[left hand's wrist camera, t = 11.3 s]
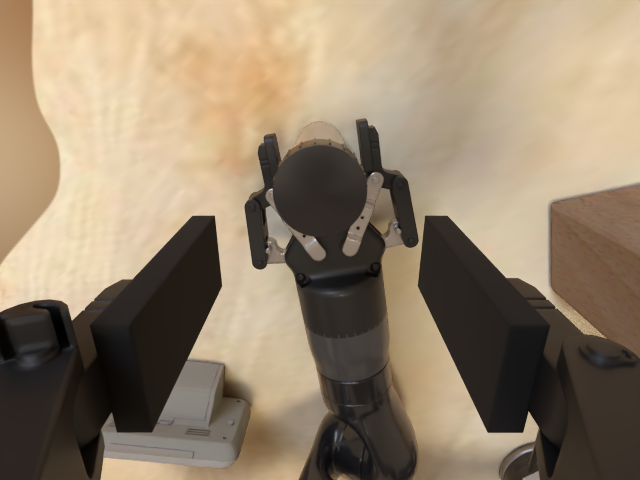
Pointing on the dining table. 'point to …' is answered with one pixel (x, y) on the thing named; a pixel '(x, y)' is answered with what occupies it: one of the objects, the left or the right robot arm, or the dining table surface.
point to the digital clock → (188, 424)
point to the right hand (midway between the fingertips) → (314, 128)
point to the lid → (320, 188)
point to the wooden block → (600, 261)
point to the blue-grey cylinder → (319, 133)
